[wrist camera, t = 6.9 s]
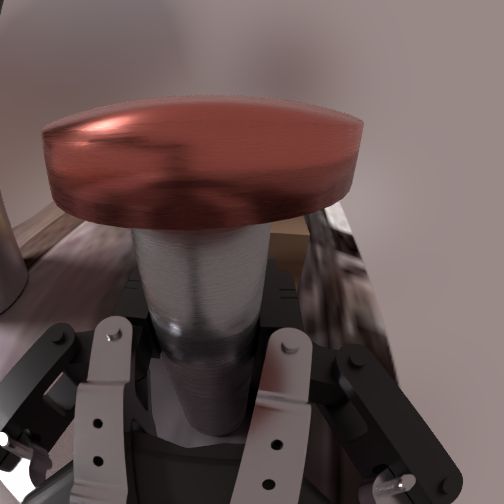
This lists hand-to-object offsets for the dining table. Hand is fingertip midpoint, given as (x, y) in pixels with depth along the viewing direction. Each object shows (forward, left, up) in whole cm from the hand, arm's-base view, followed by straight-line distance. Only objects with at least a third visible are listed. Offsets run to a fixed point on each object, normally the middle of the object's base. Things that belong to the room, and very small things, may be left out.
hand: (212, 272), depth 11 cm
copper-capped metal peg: (-1, 0, -8) cm, 8 cm away
